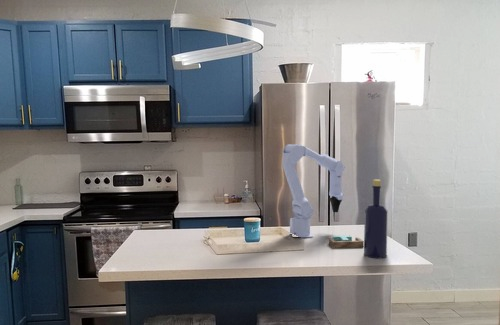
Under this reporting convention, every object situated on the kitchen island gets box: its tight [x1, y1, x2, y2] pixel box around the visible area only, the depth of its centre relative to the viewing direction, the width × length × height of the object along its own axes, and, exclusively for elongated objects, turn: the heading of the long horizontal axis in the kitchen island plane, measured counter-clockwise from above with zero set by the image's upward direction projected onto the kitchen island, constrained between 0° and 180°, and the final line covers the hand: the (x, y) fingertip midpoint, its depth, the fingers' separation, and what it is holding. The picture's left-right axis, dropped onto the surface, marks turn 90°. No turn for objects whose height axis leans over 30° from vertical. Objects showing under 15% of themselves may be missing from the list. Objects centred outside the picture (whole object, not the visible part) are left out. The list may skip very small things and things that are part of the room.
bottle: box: [363, 179, 389, 259], centre depth 146 cm, size 9×9×30 cm
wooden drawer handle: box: [328, 237, 364, 249], centre depth 160 cm, size 13×6×2 cm, turn 95°
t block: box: [332, 234, 353, 241], centre depth 162 cm, size 8×8×3 cm
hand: (335, 212), depth 184 cm, fingers closed
